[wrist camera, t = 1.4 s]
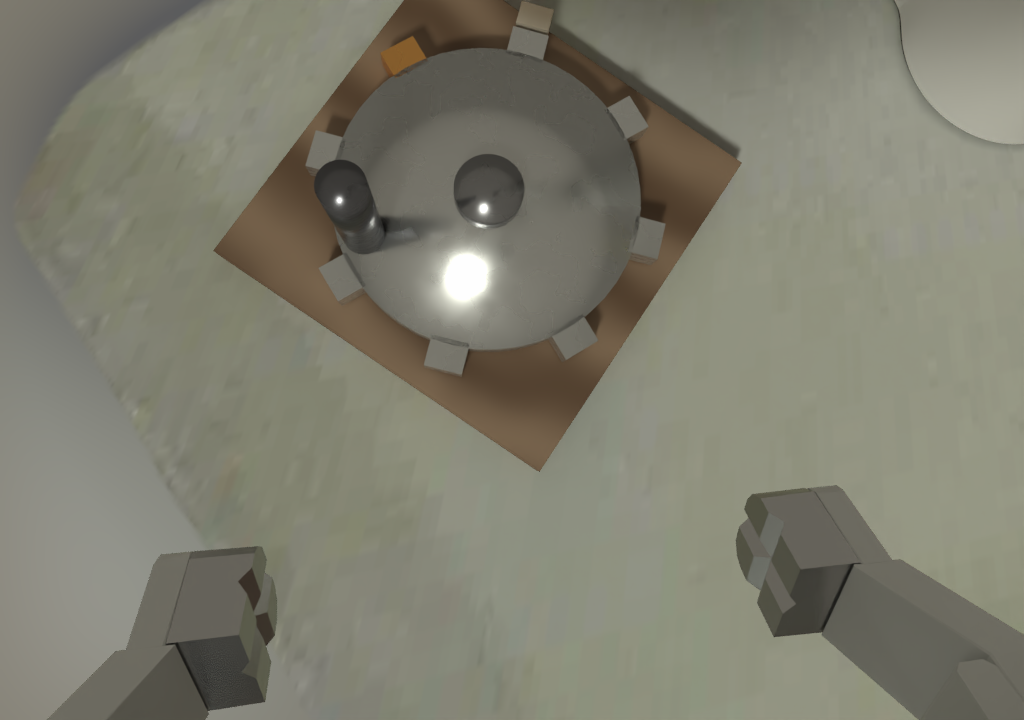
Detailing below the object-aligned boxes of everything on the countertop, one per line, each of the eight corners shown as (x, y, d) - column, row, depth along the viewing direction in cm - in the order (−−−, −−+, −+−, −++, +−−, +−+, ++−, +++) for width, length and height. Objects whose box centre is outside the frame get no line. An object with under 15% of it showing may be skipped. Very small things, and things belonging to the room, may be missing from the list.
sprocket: (442, -21, 44) (439, -145, 35) (716, 165, 44) (787, 92, 35) (242, 244, 41) (179, 187, 32) (534, 441, 41) (556, 443, 32)
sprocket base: (441, -33, 46) (440, -69, 43) (735, 168, 46) (756, 147, 43) (221, 256, 43) (202, 242, 40) (536, 470, 43) (543, 473, 40)
